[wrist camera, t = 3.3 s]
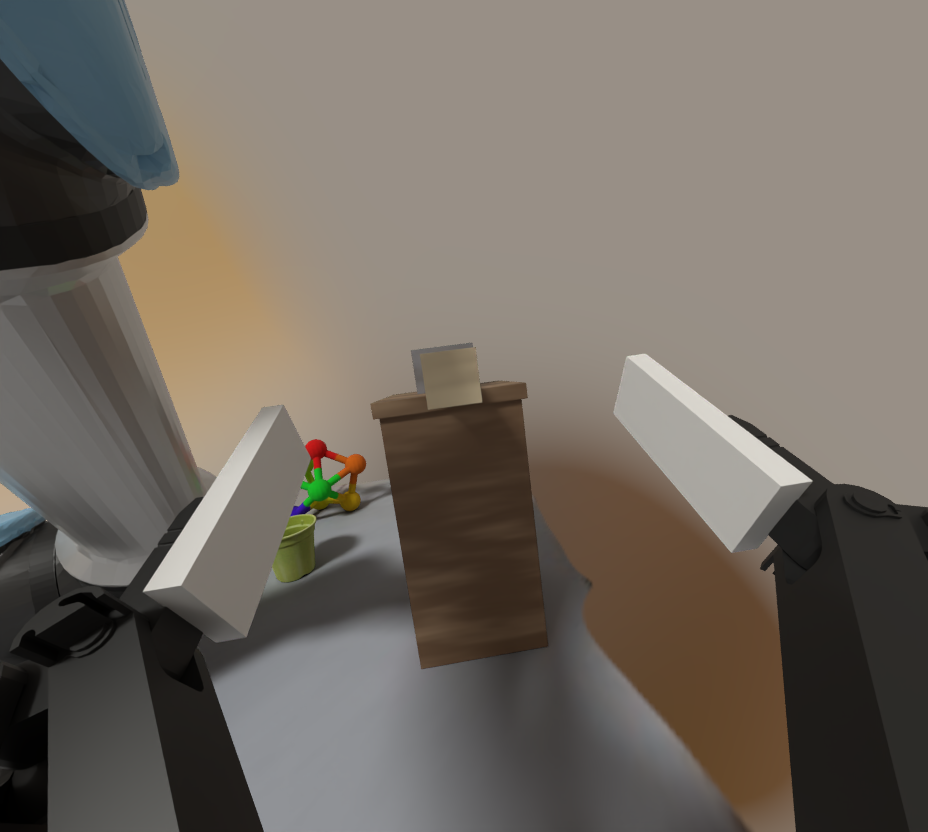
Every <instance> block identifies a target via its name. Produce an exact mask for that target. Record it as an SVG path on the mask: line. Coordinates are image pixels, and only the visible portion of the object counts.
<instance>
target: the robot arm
mask: <svg viewBox="0 0 928 832" xmlns="http://www.w3.org/2000/svg"><path fill="white" fill-rule="evenodd" d="M178 179H179V169H178V165H177V161H176V158H175V155H174V151H173V148H172V145H171V141H170V138H169V135H168V132H167V129H166V125H165V123H164V119H163V116H162V113H161V111H160V108H159V105H158V102H157V99H156V96H155V93H154V90H153V87H152V84H151V81H150V77H149V74H148V71H147V68H146V65H145V62H144V59H143V56H142V53H141V49H140V46H139V43H138V40H137V36H136V33H135V31H134V28H133V25H132V22H131V19H130V16H129V13H128V10H127V7H126V4H125V1H124V0H0V483H1V484H2V485H4V486H5V487H6V488H7V489H9V490H10V491H11V492H12V493H14V494H15V495H16V496H17V497H19V498H20V499H21V500H22V501H24V502H25V503H26V504H27V505H29V506H30V507H31V508H28V509H24V510H21V511H16V512H10V513H6V514H3V515H0V832H264V830H263V828H262V825H261V822H260V819H259V816H258V813H257V810H256V807H255V805H254V802H253V799H252V796H251V793H250V790H249V787H248V784H247V782H246V779H245V776H244V773H243V770H242V767H241V764H240V761H239V759H238V756H237V753H236V750H235V747H234V744H233V741H232V738H231V735H230V733H229V730H228V727H227V724H226V721H225V718H224V715H223V712H222V710H221V707H220V704H219V701H218V698H217V695H216V692H215V689H214V687H213V684H212V681H211V678H210V675H209V672H208V669H207V666H206V664H205V661H204V658H203V655H202V654H201V652H200V651H199V650H198V649H197V648H196V647H197V645H198V643H199V641H200V639H201V636H202V634H204V635H205V636H207V637H208V638H210V639H211V640H212V641H214V642H215V643H218V642H223V641H229V640H235V639H241V638H246V637H247V635H248V632H249V629H250V626H251V623H252V621H253V618H254V615H255V612H256V610H257V607H258V604H259V601H260V599H261V596H262V593H263V590H264V587H265V585H266V582H267V579H268V576H269V574H270V571H271V568H272V565H273V562H274V560H275V557H276V554H277V551H278V549H279V546H280V543H281V540H282V538H283V535H284V532H285V529H286V526H287V524H288V521H289V518H290V515H291V513H292V510H293V507H294V504H295V501H296V499H297V496H298V493H299V490H300V488H301V485H302V482H303V479H304V476H305V474H306V471H307V468H308V465H309V463H310V460H311V457H310V455H309V453H308V451H307V449H306V448H305V446H304V444H303V442H302V440H301V438H300V436H299V434H298V432H297V430H296V428H295V426H294V424H293V422H292V420H291V418H290V416H289V414H288V412H287V410H286V409H285V407H284V405H277V406H271V407H263V408H262V409H261V411H260V412H259V414H258V415H257V417H256V418H255V420H254V421H253V423H252V424H251V426H250V427H249V429H248V430H247V432H246V434H245V435H244V437H243V438H242V440H241V441H240V443H239V444H238V446H237V447H236V449H235V451H234V452H233V454H232V455H231V457H230V458H229V460H228V461H227V463H226V464H225V466H224V467H223V469H222V470H221V472H220V474H219V475H218V477H215V476H214V475H213V474H211V473H210V472H208V471H206V470H204V469H202V468H199V467H197V466H196V463H195V461H194V458H193V455H192V453H191V450H190V447H189V445H188V442H187V439H186V437H185V434H184V431H183V429H182V426H181V423H180V421H179V418H178V416H177V413H176V411H175V408H174V405H173V402H172V400H171V397H170V394H169V392H168V389H167V386H166V384H165V381H164V378H163V376H162V373H161V370H160V368H159V365H158V363H157V360H156V357H155V355H154V352H153V349H152V347H151V344H150V341H149V339H148V336H147V334H146V331H145V328H144V326H143V323H142V320H141V318H140V315H139V312H138V310H137V307H136V304H135V302H134V299H133V296H132V294H131V291H130V288H129V286H128V283H127V280H126V278H125V275H124V273H123V270H122V267H121V265H120V262H119V259H118V256H119V255H121V254H122V253H123V252H125V251H126V250H127V249H129V248H130V247H131V246H133V245H134V244H135V243H136V242H137V241H138V240H139V239H140V238H141V237H142V236H143V235H144V233H145V231H146V229H147V226H148V214H147V210H146V206H145V203H144V199H143V195H142V192H141V189H146V190H155V189H157V188H158V187H159V186H169V185H173V184H175V183H176V182H177V181H178ZM613 413H614V415H615V416H616V417H617V418H618V419H619V421H620V422H621V423H622V424H623V425H624V426H625V428H626V429H627V430H628V431H629V432H630V433H631V435H632V436H633V437H634V438H635V439H636V441H637V442H638V443H639V444H640V445H641V446H642V448H643V449H644V450H645V451H646V452H647V454H648V455H649V456H650V457H651V458H652V460H653V461H654V462H655V463H656V464H657V465H658V467H659V468H660V469H661V470H662V471H663V473H664V474H665V475H666V476H667V477H668V478H669V480H670V481H671V482H672V483H673V484H674V485H675V487H676V488H677V489H678V490H679V491H680V493H681V494H682V495H683V496H684V497H685V499H686V500H687V501H688V502H689V503H690V504H691V505H692V507H693V508H694V509H695V510H696V511H697V513H698V514H699V515H700V516H701V517H702V519H703V520H704V521H705V522H706V523H707V524H708V526H709V527H710V528H711V529H712V530H713V532H714V533H715V534H716V535H717V536H718V537H719V539H720V540H721V541H722V542H723V543H724V545H725V546H726V547H727V548H728V549H729V550H730V552H732V553H733V552H739V551H745V550H751V549H756V548H758V547H759V546H760V545H761V544H762V542H763V541H764V540H765V539H766V538H767V536H768V535H769V536H770V537H771V538H772V539H773V540H774V541H775V542H776V543H777V544H778V545H777V546H776V547H775V549H774V550H773V551H772V552H771V553H770V554H769V555H768V557H767V558H766V559H765V560H764V561H763V562H762V564H761V568H760V569H761V570H764V571H766V570H767V568H768V567H769V566H770V565H771V564H772V563H774V569H775V571H774V572H773V574H774V575H775V582H776V594H777V605H778V618H779V631H780V643H781V655H782V667H783V679H784V691H785V704H786V716H787V728H788V739H789V752H790V763H791V764H790V765H791V776H792V787H793V801H794V812H795V824H796V832H928V507H919V506H908V505H898V504H895V503H893V502H892V501H891V500H889V499H887V498H885V497H884V496H882V495H880V494H878V493H876V492H874V491H871V490H868V489H865V488H862V487H859V486H854V485H849V484H833V483H831V482H830V481H829V480H827V479H826V478H825V477H823V476H822V475H821V474H819V473H818V472H816V471H815V470H814V469H812V468H811V467H810V466H808V465H807V464H805V463H804V462H803V461H801V460H800V459H799V458H797V457H796V456H795V455H793V454H792V453H790V452H789V451H788V450H786V449H785V448H784V447H780V446H779V444H778V443H777V442H775V441H774V440H773V439H771V438H770V437H769V438H767V436H766V434H764V433H763V432H762V431H760V430H759V429H758V428H756V427H755V426H753V425H752V424H750V423H748V422H746V421H744V420H741V419H739V418H737V417H735V416H733V415H729V416H727V415H725V414H724V413H723V412H721V411H720V410H719V409H717V408H716V407H715V406H713V405H712V404H711V403H710V402H708V401H707V400H706V399H704V398H703V397H702V396H700V395H699V394H698V393H696V392H695V391H694V390H693V389H691V388H690V387H688V386H687V385H686V384H685V383H683V382H682V381H681V380H679V379H678V378H677V377H675V376H674V375H673V374H671V373H670V372H669V371H668V370H666V369H665V368H663V367H662V366H661V365H660V364H658V363H657V362H656V361H654V360H653V359H651V358H650V357H649V356H648V355H647V354H640V355H634V356H627V357H626V361H625V365H624V370H623V374H622V378H621V382H620V387H619V391H618V395H617V400H616V404H615V408H614V412H613ZM46 520H47V521H46Z"/></svg>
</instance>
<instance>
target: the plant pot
mask: <svg viewBox="0 0 928 832" xmlns="http://www.w3.org/2000/svg"><path fill="white" fill-rule="evenodd" d="M315 523H316V517H315V516H314V515H311V514H302V515H295V516H291V517H290V518H289V521H288V524H287V526H286V529H285V532H284V535H283V538H282V540H281V543H280V546H279V549H278V551H277V554H276V557H275V560H274V562H273V565H272V568H273V570H274V573H275V575H276V577H277V579H278V580H280V581H281V582H291V581H295V580H298V579H300V578H301V577H302V576H303V575H305V574H307V573H310V572H311V571H312V570H313V569H314V567H315V551H314V529H315Z"/></svg>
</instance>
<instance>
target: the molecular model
mask: <svg viewBox="0 0 928 832" xmlns="http://www.w3.org/2000/svg"><path fill="white" fill-rule="evenodd" d="M305 448H306V449H307V451H308V453H309V455H310V457H311V460H310V463H309V465H308V468H307V471H306V474H305V477H306V479H307V481H308V483H307V482H304V481H303V482H302V485H301V489H304V490H308V495H309V497H308V498H307V499H306V500H305V501H304V502H303V503H302V504H301V505H300V506H299V507H298V506H294V507H293V510H292V513H291V515H290V517H291V516H295V515H302V514H305V513H307V512H308V511H310V510H311V509H313V508H314V509H317V510H321V509H324V508H326V507H327V506H328V505H329V503H331V504H340V505H341V507H342V508H343V509H344V510H346V511H353V510H355V509H356V508H358V506H359V505H360V501H361V499H360V496H359V494H358V493H357V492H355V489H356V482H357V475H358V474H359V473H361V472H363V471H364V469H365V467H366V461H365V459H364V457H363V456H361V455H359V454H353V455H351V456H350V457H348V458H347V457H344V456H342V455H339V454H336V453H333V452H331V451H328V450H327V447H326V444H325V443H324V442H323V441H321V440H317V439H315V440H311V441H309V442H308V443H307V445H306V446H305ZM323 457H327V458H330V459H333V460H335V461H338V462H341V463H344V464H345V468H344V469H343V470H341V471H340V472H339V473H337V474H336V475H334V476H333V477H331V478H330V479H329V480H327V481H326V480H323V477H322V468H321V458H323ZM313 467H314V475H315V480H314V478H313V476H312V474H311V471H312V469H313ZM349 473H351V476H350V483H349V490H348V491H347V492H345V493H344V494H340V493H337V492H334V491H332V489H331V486H332V485H334V484H335V483H336V482H338V481H339V480H340V479H342V478H343V477H345V476H346V475H347V474H349Z"/></svg>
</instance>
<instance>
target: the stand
mask: <svg viewBox="0 0 928 832" xmlns="http://www.w3.org/2000/svg"><path fill="white" fill-rule="evenodd" d="M480 387H481V395H482V402H481V403H474V404H466V405H459V406H452V407H445V408H437V409H430V410H428V407H427V400H426V393H424V394H418V393H417V392H412V393H404V394H396V395H392V396H389V397H387V398H384V399H382V400H379V401H377V402H374V403H372V404H371V410H372V415H373V419H380V424H381V430H382V436H383V442H384V448H385V454H386V460H387V466H388V472H389V478H390V484H391V490H392V496H393V502H394V508H395V514H396V520H397V526H398V532H399V538H400V544H401V550H402V556H403V562H404V568H405V574H406V580H407V586H408V592H409V598H410V604H411V610H412V616H413V622H414V628H415V634H416V640H417V646H418V652H419V658H420V664H421V669H424V668H430V667H435V666H441V665H447V664H452V663H458V662H463V661H469V660H474V659H480V658H486V657H491V656H497V655H502V654H508V653H513V652H519V651H525V650H530V649H536V648H541V647H547V646H548V640H547V631H546V621H545V612H544V603H543V594H542V585H541V575H540V566H539V557H538V548H537V538H536V529H535V520H534V511H533V502H532V492H531V483H530V475H529V466H528V455H527V446H526V438H525V429H524V419H523V409H522V400H521V399H525V398H528V397H527V388H526V383H522V382H509V381H493V382H486V383H480Z"/></svg>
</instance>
